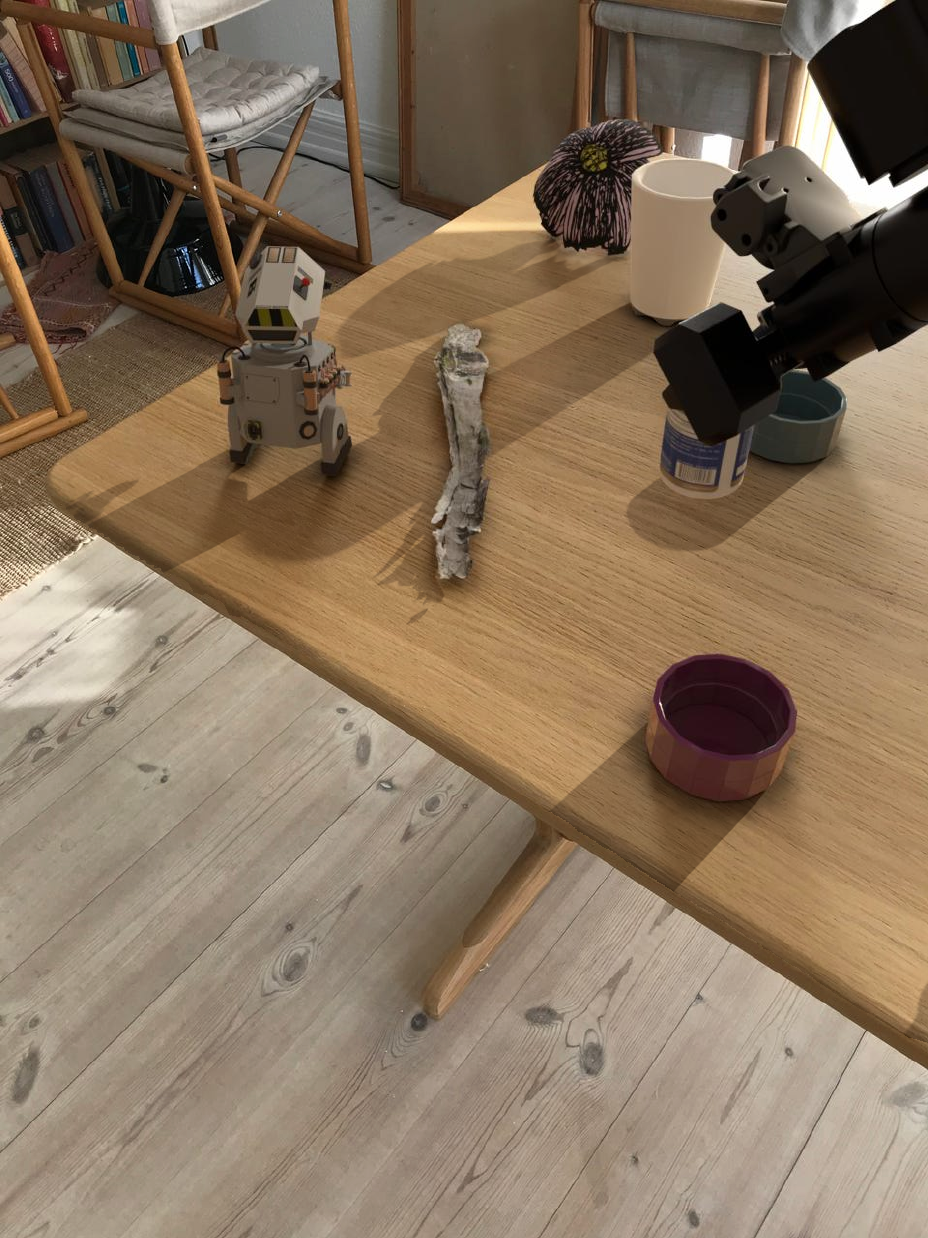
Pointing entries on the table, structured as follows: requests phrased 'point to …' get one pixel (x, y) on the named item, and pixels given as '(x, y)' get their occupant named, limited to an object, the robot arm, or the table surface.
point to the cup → (674, 237)
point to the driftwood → (461, 449)
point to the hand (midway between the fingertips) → (697, 382)
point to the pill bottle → (701, 460)
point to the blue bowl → (801, 420)
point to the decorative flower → (594, 184)
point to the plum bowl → (720, 726)
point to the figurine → (283, 363)
